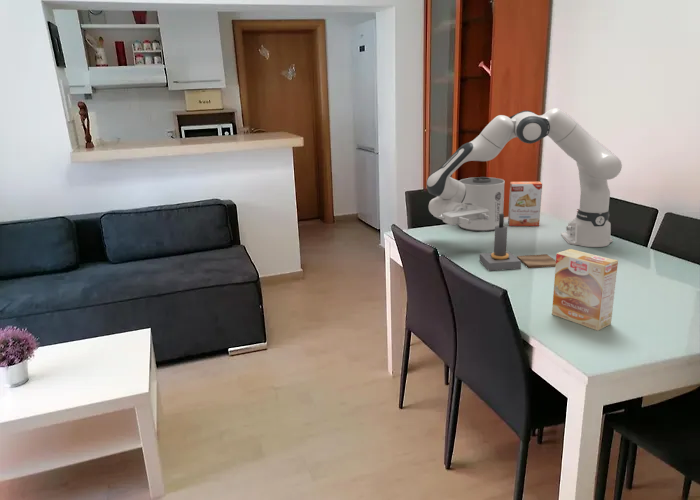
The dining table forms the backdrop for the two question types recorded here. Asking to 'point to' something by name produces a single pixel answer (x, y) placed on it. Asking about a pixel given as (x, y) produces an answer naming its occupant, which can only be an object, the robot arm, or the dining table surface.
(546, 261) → the pad
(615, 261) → the coffeecake box
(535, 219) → the cracker box
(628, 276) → the dining table surface
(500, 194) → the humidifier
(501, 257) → the plug
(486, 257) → the socket block
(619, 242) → the dining table surface
